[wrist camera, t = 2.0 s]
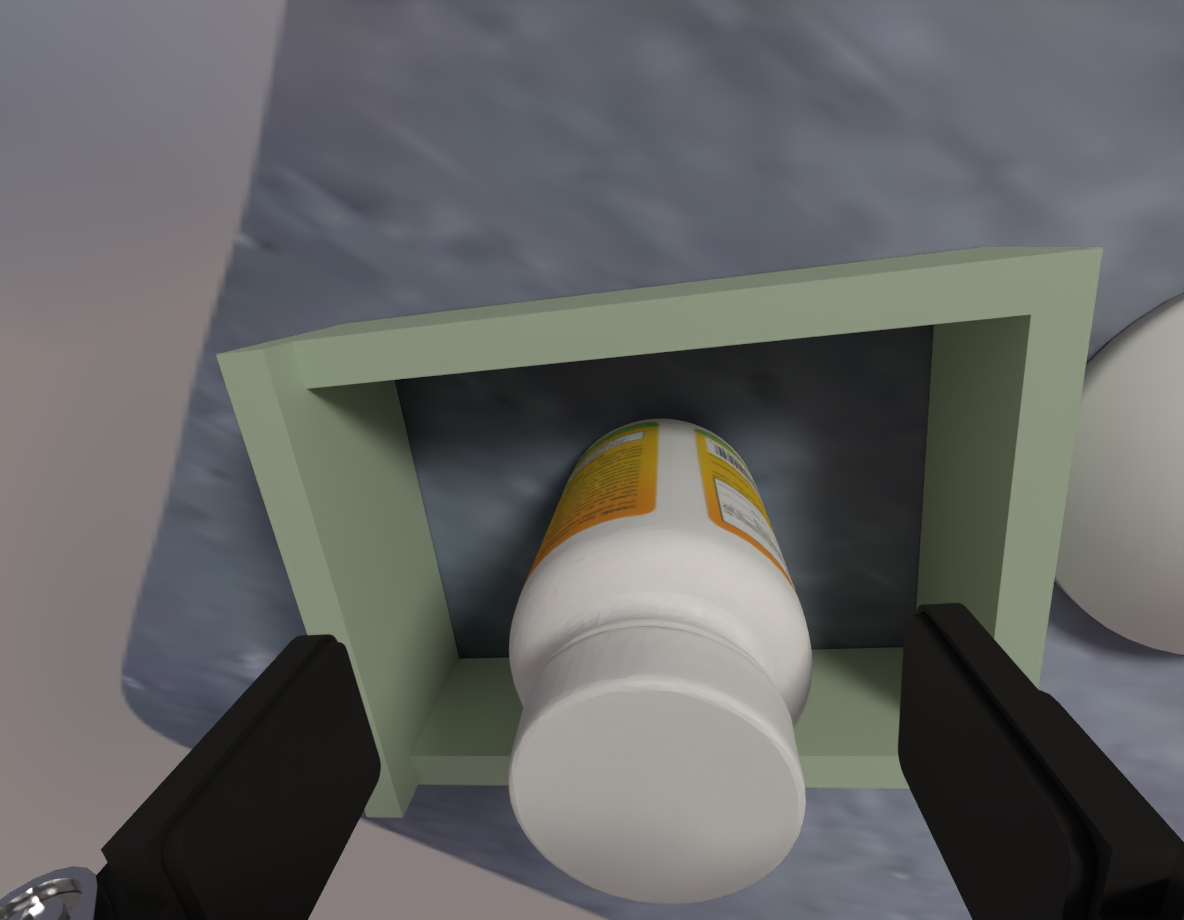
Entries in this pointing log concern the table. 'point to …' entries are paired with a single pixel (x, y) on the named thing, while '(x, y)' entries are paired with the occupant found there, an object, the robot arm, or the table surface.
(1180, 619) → the saucer
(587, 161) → the table surface
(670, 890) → the supplement bottle
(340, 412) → the frame
